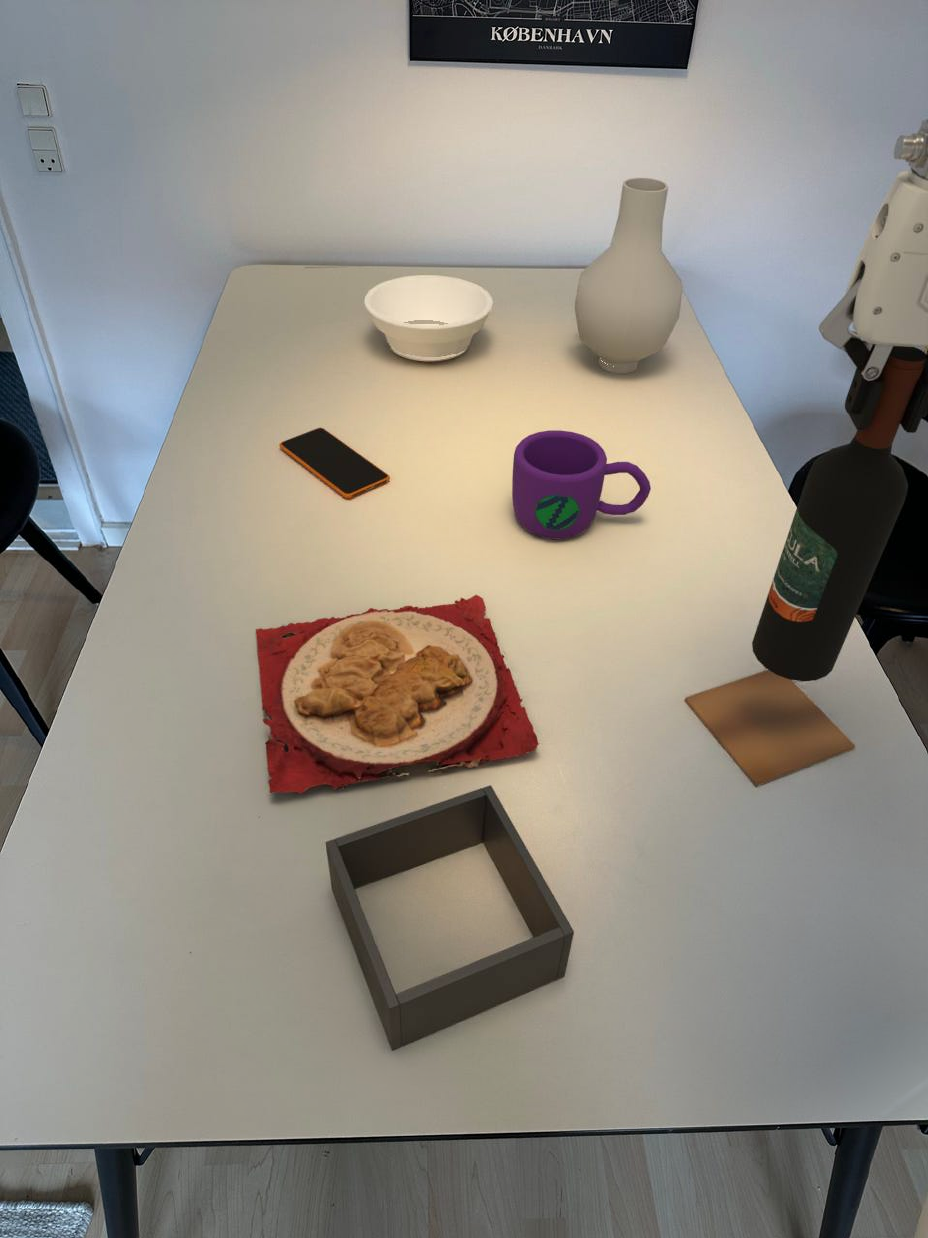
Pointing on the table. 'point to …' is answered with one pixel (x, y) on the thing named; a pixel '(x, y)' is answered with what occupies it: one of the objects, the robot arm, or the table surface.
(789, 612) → the wine bottle
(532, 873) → the grey square tray frame
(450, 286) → the bowl
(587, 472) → the mug
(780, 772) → the cork mat
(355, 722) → the plate with food
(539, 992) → the table surface
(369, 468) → the smartphone
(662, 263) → the vase
